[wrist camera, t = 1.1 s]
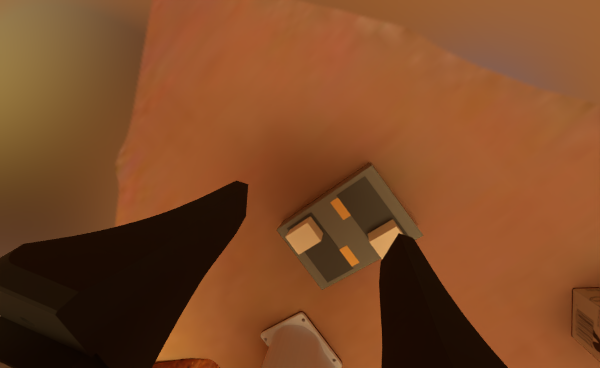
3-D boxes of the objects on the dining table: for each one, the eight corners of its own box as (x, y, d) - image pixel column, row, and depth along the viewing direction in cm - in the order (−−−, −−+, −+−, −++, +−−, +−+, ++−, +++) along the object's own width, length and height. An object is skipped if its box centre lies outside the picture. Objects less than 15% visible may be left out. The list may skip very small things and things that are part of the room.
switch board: (416, 226, 26) (423, 235, 23) (324, 277, 30) (321, 290, 27) (370, 162, 26) (372, 165, 23) (282, 222, 29) (276, 230, 27)
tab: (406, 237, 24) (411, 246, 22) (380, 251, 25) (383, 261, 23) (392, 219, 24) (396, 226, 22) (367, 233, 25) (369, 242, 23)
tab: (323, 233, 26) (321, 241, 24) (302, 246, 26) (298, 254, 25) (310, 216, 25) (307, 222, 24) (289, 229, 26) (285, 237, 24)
